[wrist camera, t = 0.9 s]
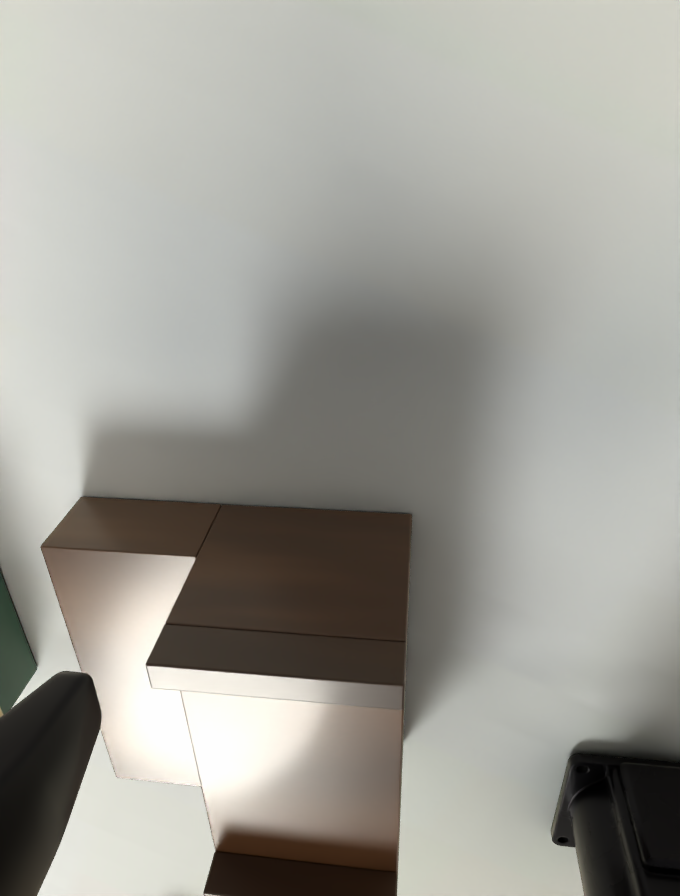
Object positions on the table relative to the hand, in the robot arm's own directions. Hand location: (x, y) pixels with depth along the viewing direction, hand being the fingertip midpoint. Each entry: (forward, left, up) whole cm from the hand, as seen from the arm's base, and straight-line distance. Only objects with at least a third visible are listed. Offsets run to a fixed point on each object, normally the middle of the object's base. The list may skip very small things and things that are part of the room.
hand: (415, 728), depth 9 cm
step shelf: (-13, +6, -13) cm, 19 cm away
